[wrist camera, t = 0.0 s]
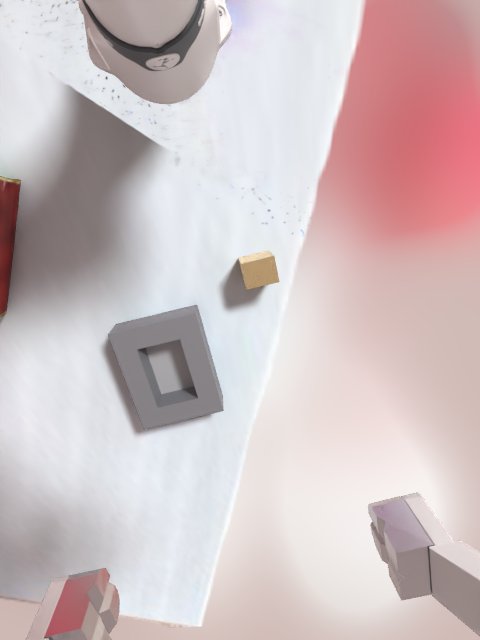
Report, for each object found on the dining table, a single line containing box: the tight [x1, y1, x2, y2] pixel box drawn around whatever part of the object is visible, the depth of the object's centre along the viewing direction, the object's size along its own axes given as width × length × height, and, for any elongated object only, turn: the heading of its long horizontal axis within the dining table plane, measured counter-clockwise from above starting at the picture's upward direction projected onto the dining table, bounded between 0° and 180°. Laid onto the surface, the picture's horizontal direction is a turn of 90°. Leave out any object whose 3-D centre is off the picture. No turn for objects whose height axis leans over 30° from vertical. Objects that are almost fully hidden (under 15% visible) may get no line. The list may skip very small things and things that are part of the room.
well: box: [108, 305, 223, 430], centre depth 60 cm, size 18×14×5 cm
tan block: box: [238, 251, 279, 290], centre depth 55 cm, size 4×5×6 cm
